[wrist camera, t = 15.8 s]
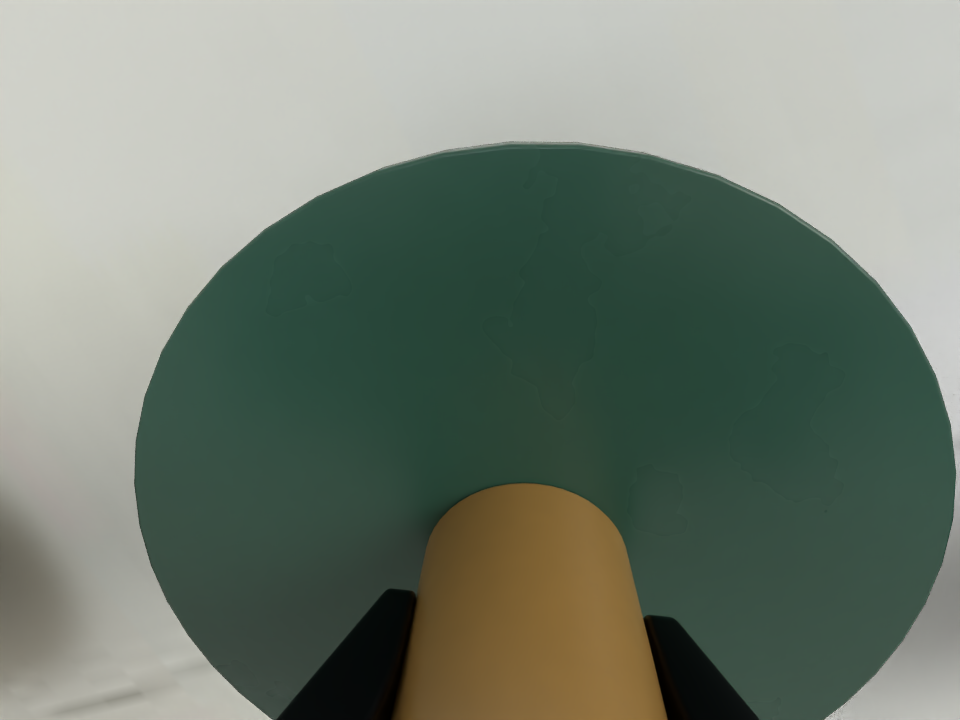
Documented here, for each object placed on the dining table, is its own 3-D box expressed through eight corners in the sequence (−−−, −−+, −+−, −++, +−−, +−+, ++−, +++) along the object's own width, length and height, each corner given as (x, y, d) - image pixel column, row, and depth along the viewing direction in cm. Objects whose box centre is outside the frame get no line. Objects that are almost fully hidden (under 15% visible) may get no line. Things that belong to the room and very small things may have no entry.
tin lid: (950, 45, 7) (2679, -203, 1) (876, 726, 12) (1202, 1290, 6) (45, 228, 9) (-832, 454, 3) (301, 762, 14) (144, 1234, 8)
